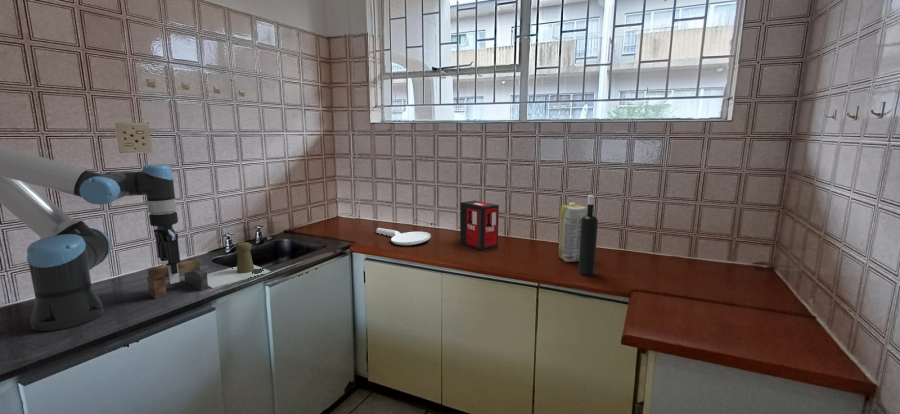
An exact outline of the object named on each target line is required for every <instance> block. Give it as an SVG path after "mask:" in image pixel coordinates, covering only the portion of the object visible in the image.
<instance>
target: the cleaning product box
mask: <svg viewBox="0 0 900 414" xmlns="http://www.w3.org/2000/svg"><path fill="white" fill-rule="evenodd" d="M459 206H460V208H459V210H460V211H459V213H460V214H459V215H460V216H459V217H460V220H459V221H460V224H459V225H460V229H459V231H460V233H459V241H460V242H459V244H462V245H464V246H466V247H470V248H474V249H476V250H480V251H483V252H484V251H489V250H493V249H497V248H498V247H499V206H500V205H499V204H494V203H490V202H485V201H480V200H469V201H460V204H459Z"/></svg>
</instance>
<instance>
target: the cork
mask: <svg viewBox="0 0 900 414" xmlns="http://www.w3.org/2000/svg"><path fill="white" fill-rule="evenodd" d="M235 250H236V252H237V262H236V263H237V264H236V267H237V273H249V272H252V271H253V270H254V265H255V264H254V263H253V262H254V261H253V259H252V258H253V257H252V253H251V250H252V244H251V243H250V242H249V241H248V242H247V241H243V242H239V243H237V244H236V245H235Z"/></svg>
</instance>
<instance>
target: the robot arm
mask: <svg viewBox="0 0 900 414" xmlns="http://www.w3.org/2000/svg"><path fill="white" fill-rule="evenodd" d="M174 183H175V182H174V176H173V172H172V167H171V166H170V165H169V164H165V163H161V164H160V163H159V164H158V163H157V164H145V165H143V166H142V170H140V171H138V170H137V171H106V172H94V171H92V170H87V169H84V168H81V167H77V166H75V165H70V164H66V163H64V162H60V161H57V160H52V159H49V158H46V157H43V156H38V155H36V154H32V153H28V152H26V151H21V150H18V149H14V148H11V147H7V146H5V145H1V144H0V204H1V205H2V206H3V207H5V209H7V210H8V211H9V212H10V213H11V214H12V215H14V216H15V217H16V218H17V219H18V220H19V221H20V222H21V223H23V224H24V225H25V226H26V227H27V228H29V229H30V230H31V231H32V232H33V233H35V235H37V236H38V237H39V239H38V240H36V241H34V242H32V243H30V244H29V245H28V247H27V248H26V255H27V256H26V261H27V263H28V267H29V272H30V276H31V282H32V288H33V291H34V298H35V301H34V304H33V308H32V312H31V316H30V326H31V329H33V330H34V331H38V332H49V331H50V332H51V331H58V330H63V329H69V328H73V327H77V326H80V325H84V324H86V323H90V321H94V320H96V319H97V318H99V317H100V316H102V315H103V314H104V310H105V309H104V304H103V302H102V300H101V299H100V298H99V296H98V295H97V293H96V292H95V290H94V289H93V287H92V280H91V274H90V270H92V269H94V267H96V266H99V265H100V264H101V263H103V262H104V260H106V259H107V257H109V254H110V252H111V248H112V244H111V240H110V237H108V235H107V234H106V233H105V232H104V231H102V230H99V229H97V228H93V227H92V228H91V227H90V226H88V224H87V223H85V222H84V221H83V220H81V219H75V218H71V217H70V216H69V215H67V214H66V213H65V212H64V211H63V210H62V209H61V208H60V207H59V206H58V205H56V203H54V201H52V200H51V199H49V197H47V195H45V193H43V192H42V191H41V190H40V189H39V188H38V187H42V188H45V189H50V190H53V191H58V192H61V193H66V194H69V195H73V196H76V197H80V198H82V199H83V200H84V201H85V202H87V203H89V204H92V205H98V206H99V205H107V204H109V203H110V204H111V203H112V202H115V200H119V199H121V198H125V197H132V196H133V197H134V196H146V197H145V198H146V205H147V206H146V207H147V212H148V213H149V215H148V217H149V218H148V219H149V225H150V226H151V227H156V228H155V229H153V233H154V236H155V237H154V238H155V244H156V252H157V257H158V259H160V261H161V267H162V266H167V267H168V275H169V277H164V279H165V282H166V281H169V284H170V285H173V284H177V283H180V282H181V280H180V274H179V271H178V263H181V258H180V257H181V256H180V249H179V240H178V239H179V234H178V233H176V232H175V229H174V228H173V226H174V225H176V224H177V223H179V219H178V218H179V216H178V212H177V211H176V210H177V204H178V201H177V200H176V194H175V193H176V192H175V187H174ZM36 186H38V187H36Z"/></svg>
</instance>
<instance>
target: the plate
mask: <svg viewBox="0 0 900 414" xmlns="http://www.w3.org/2000/svg"><path fill="white" fill-rule="evenodd" d="M253 265H254V269H260V268H261V269H262V268H263V267H260V266H258V265H255V264H253ZM232 268H233V269H232ZM263 270H264V271H262V272H261V273H258V274H254V273H253V274H252V272H249V273H237V266H234V267H229V268H226V269H225V268H224V269H222V270H218V271H217V270H216V271H213V272H210V273H207V280H208V288H209V289H212V290H213V289H217V288H220V287H223V286H227V285H231V284H234V283H238V282H241V280H242V281H245V280H248V278H249V279H251V278H250V277H252V278H255V277H254V276H256V277H258V276H257V275H259V276H262V275H261V274H263V275H265V274H269V272H270V273H271V272H272V271H271V270H269V269H266V268H264V269H263Z"/></svg>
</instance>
